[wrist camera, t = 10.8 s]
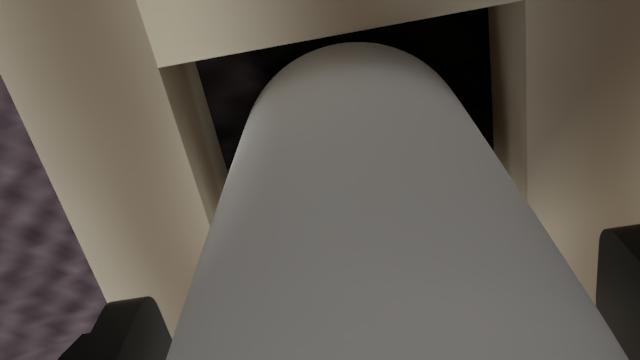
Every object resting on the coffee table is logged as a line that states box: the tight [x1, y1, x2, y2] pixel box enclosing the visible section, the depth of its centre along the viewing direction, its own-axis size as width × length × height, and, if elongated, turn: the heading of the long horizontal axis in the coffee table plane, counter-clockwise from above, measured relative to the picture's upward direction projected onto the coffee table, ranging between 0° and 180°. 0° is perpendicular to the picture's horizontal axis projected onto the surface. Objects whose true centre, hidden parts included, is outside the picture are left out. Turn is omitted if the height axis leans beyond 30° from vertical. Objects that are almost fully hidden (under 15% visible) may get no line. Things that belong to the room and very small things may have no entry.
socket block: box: [0, 0, 640, 340], centre depth 15 cm, size 15×15×3 cm
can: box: [166, 42, 629, 360], centre depth 11 cm, size 6×6×12 cm
